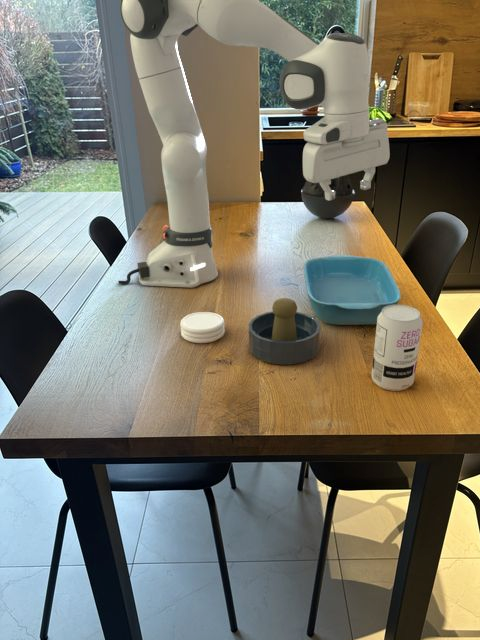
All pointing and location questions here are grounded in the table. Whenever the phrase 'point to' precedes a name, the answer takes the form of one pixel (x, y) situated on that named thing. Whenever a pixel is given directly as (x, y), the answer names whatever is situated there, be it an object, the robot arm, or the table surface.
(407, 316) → the supplement can
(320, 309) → the casserole dish
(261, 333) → the bowl
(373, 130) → the robot arm
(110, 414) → the table surface
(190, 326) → the coaster
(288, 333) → the olive pawn
